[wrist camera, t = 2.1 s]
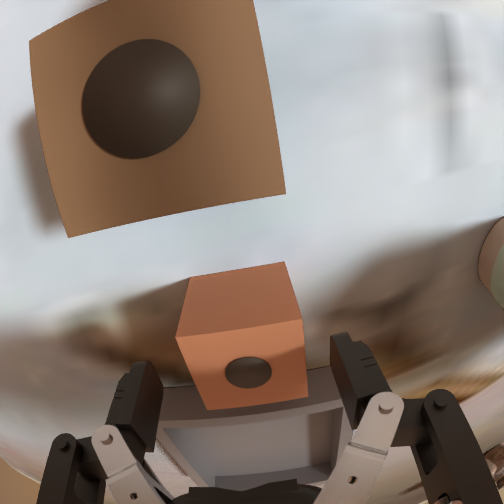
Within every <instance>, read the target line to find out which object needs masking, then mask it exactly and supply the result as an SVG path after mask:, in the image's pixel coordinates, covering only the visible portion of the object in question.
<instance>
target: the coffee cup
mask: <svg viewBox="0 0 504 504" xmlns="http://www.w3.org/2000/svg"><path fill="white" fill-rule="evenodd" d="M478 274H479V278H480V281H481V282H482V284H483V285H484V286H485V287H486V288H487V290H488V291H489V292H490V293H491V295H492V296H493V297H494V298H495V300H496V301H497V302H498V303H499V305H500V306H501V307H502V308H503V310H504V217H503V218H502V219H501V220H499V221H498V222H497V223H496V224H495V225H494V226H493V228H492V229H491V231H490V232H489V234H488V235H487V237H486V239H485V241H484V244H483V246H482V249H481V252H480V256H479V262H478Z"/></svg>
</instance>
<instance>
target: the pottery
mask: <svg viewBox="0 0 504 504" xmlns="http://www.w3.org/2000/svg"><path fill="white" fill-rule="evenodd" d="M484 457H485V460H486V462H487V464H488V467H489V469H490V471H491V474H492V476H493V479H494V481H495V482H496V484H497V487H498V489H501V488H503V487H504V443H501V444H499V445H497V446H496V447H494V448H493V449H492V450H491V451H489V452H488V453H487V454H486V455H485V456H484Z"/></svg>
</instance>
